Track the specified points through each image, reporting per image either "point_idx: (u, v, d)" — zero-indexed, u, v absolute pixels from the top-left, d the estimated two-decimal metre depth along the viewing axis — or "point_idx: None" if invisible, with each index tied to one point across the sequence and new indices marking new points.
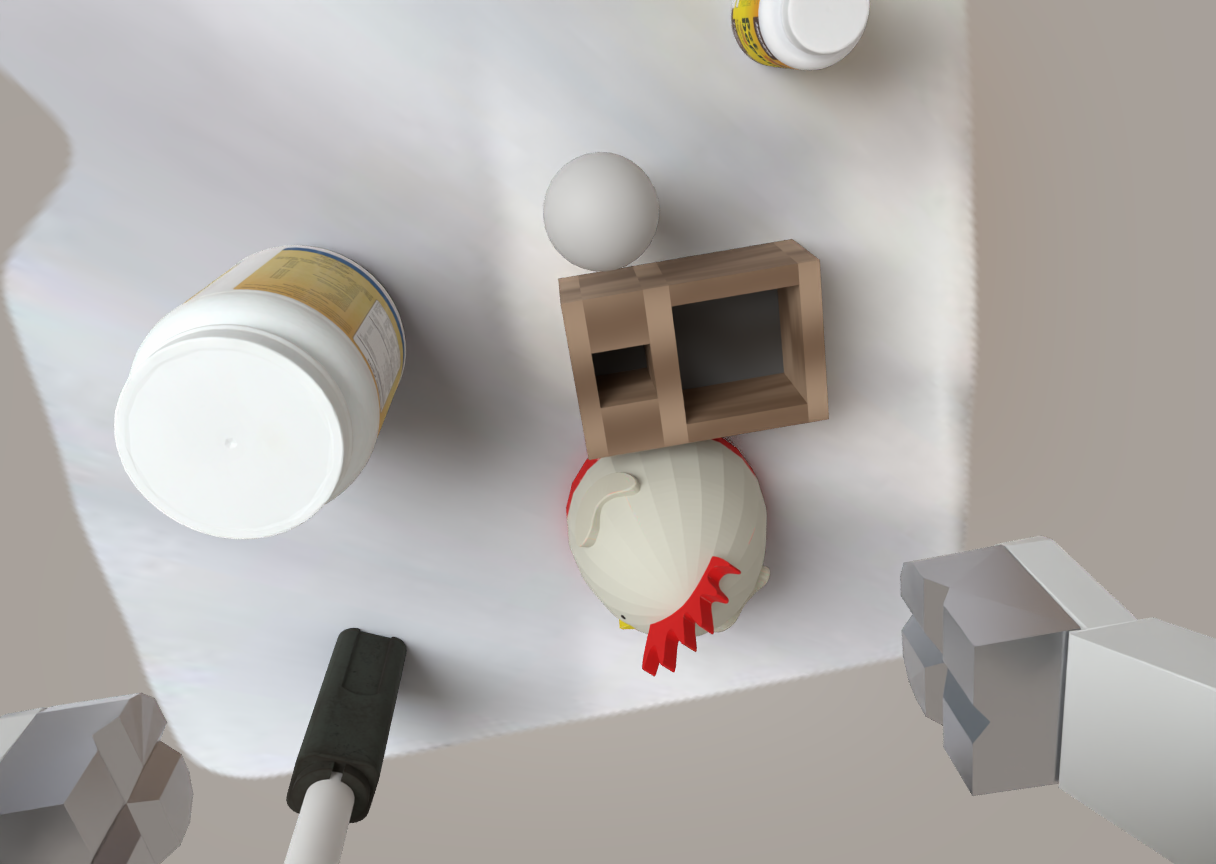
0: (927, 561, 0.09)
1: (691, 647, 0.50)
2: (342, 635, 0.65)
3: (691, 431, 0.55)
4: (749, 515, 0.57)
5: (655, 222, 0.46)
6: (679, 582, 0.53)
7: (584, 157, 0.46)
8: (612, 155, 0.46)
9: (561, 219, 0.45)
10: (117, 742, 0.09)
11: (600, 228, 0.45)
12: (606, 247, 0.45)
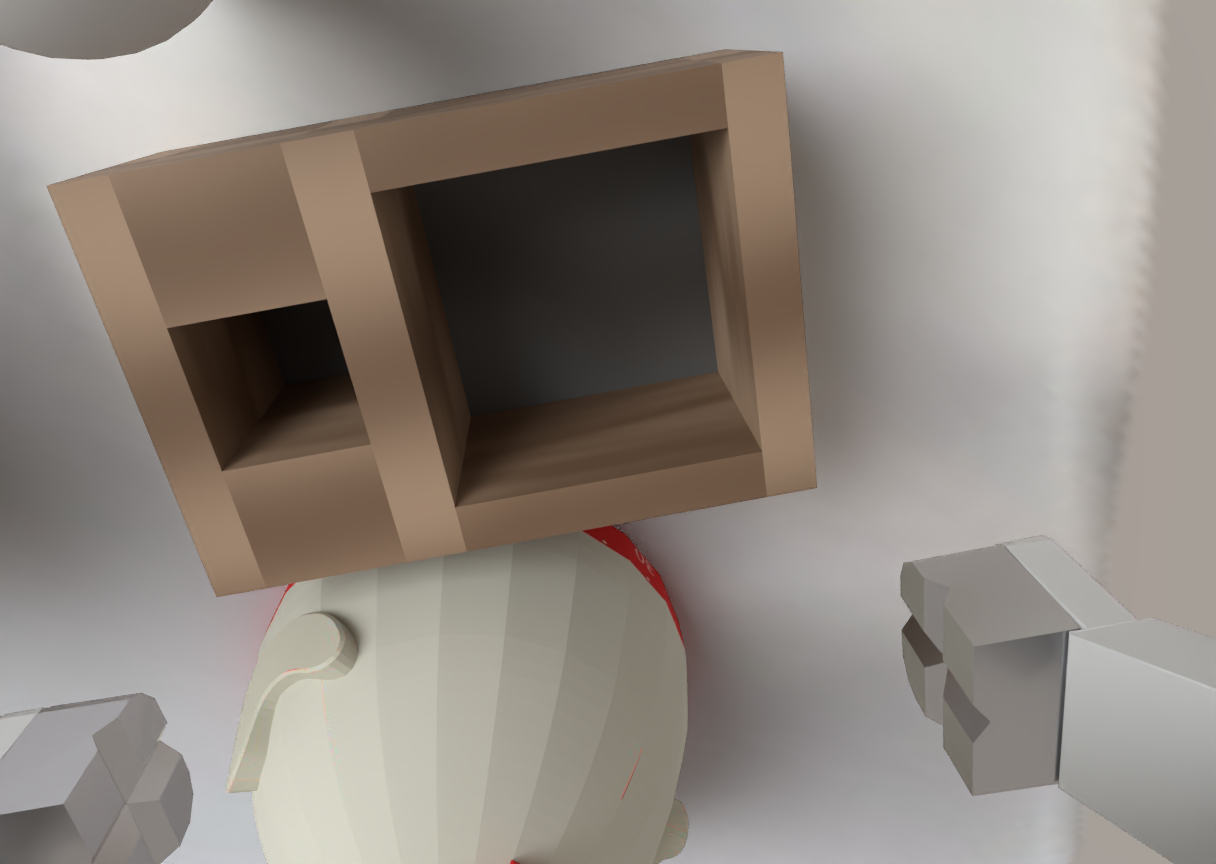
0: (928, 561, 0.09)
1: None
2: None
3: (469, 524, 0.22)
4: (629, 716, 0.24)
5: None
6: None
7: None
8: None
9: None
10: (117, 742, 0.09)
11: None
12: None
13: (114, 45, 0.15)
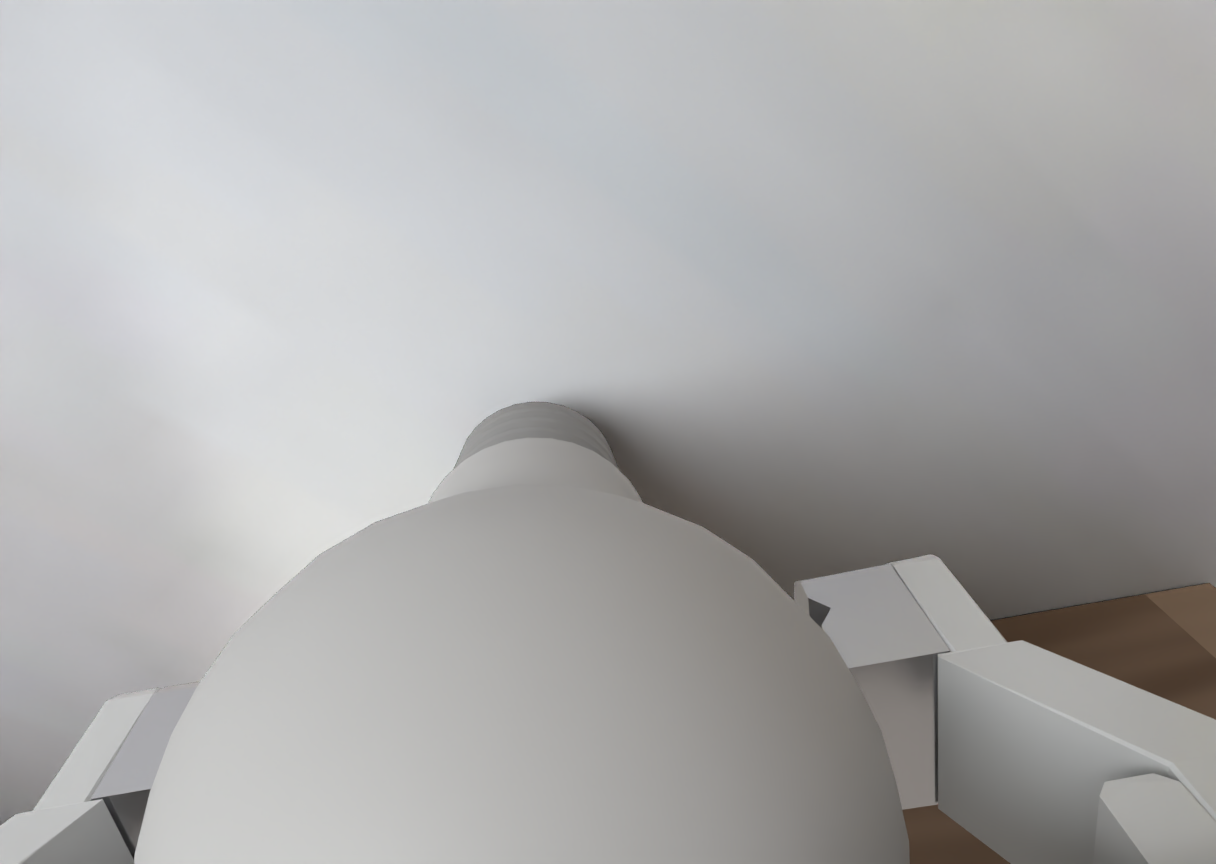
0: (815, 580, 0.09)
1: None
2: None
3: None
4: None
5: None
6: None
7: (388, 594, 0.06)
8: (601, 574, 0.06)
9: None
10: None
11: None
12: None
13: None
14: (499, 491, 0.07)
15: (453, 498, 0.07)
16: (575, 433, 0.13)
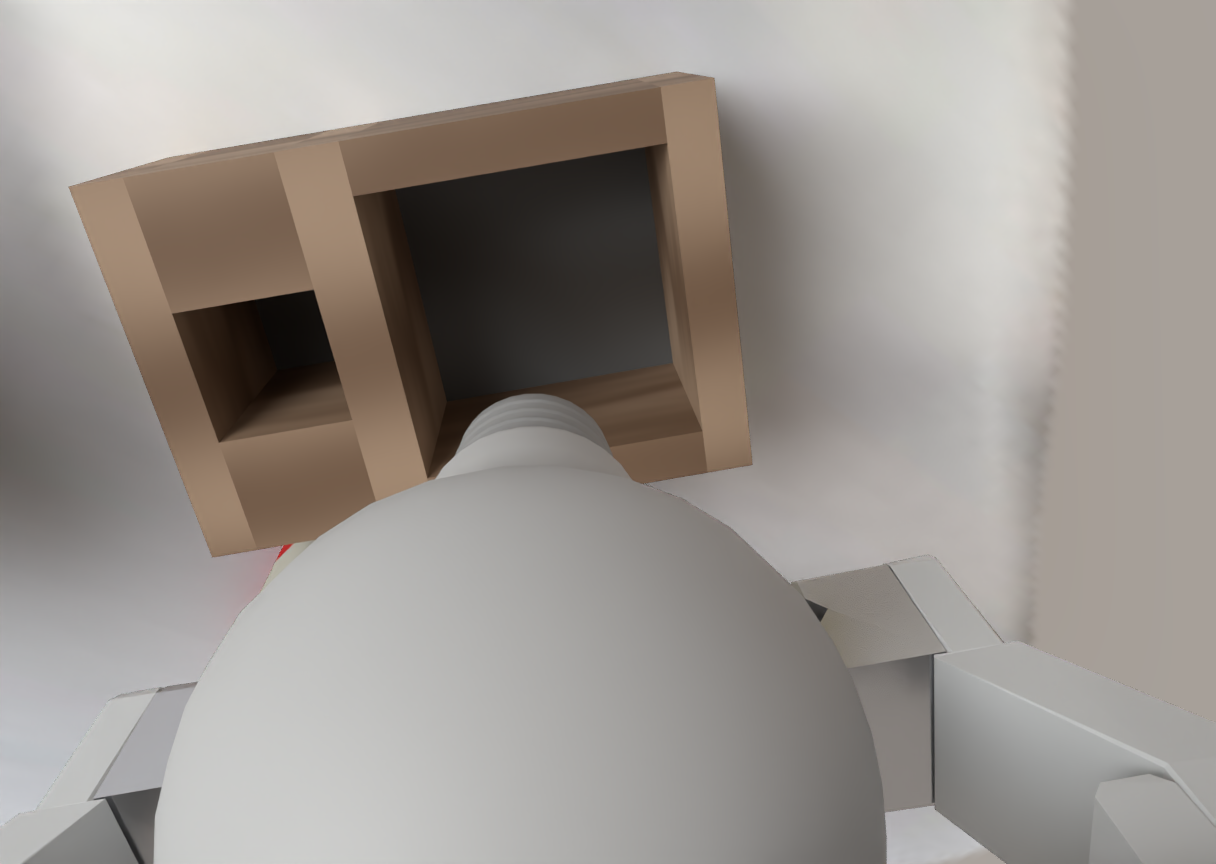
0: (811, 581, 0.09)
1: None
2: None
3: None
4: None
5: None
6: None
7: (380, 564, 0.06)
8: (578, 540, 0.06)
9: None
10: None
11: None
12: None
13: None
14: (485, 470, 0.08)
15: (442, 478, 0.08)
16: (568, 422, 0.13)
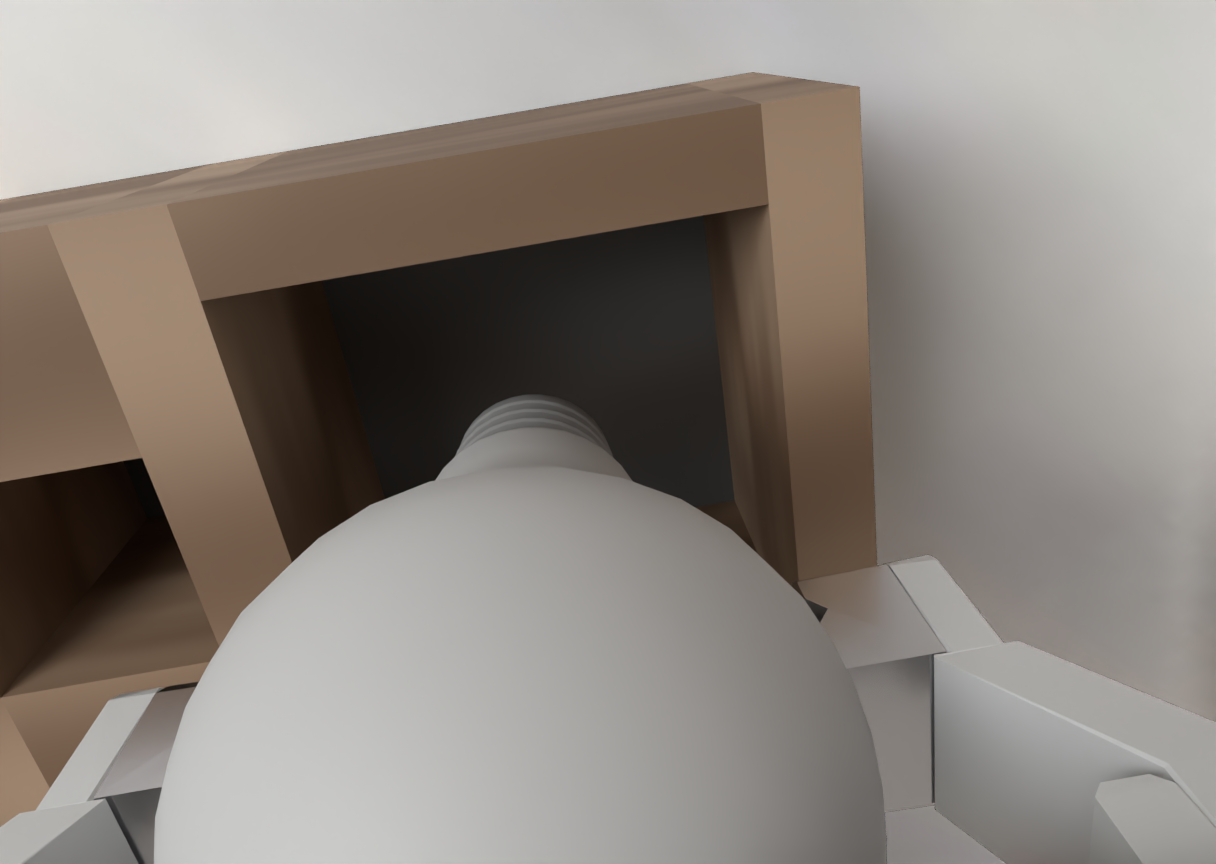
0: (811, 581, 0.09)
1: None
2: None
3: None
4: None
5: None
6: None
7: (380, 566, 0.06)
8: (578, 541, 0.06)
9: None
10: None
11: None
12: None
13: None
14: (485, 471, 0.08)
15: (442, 479, 0.08)
16: (568, 422, 0.13)
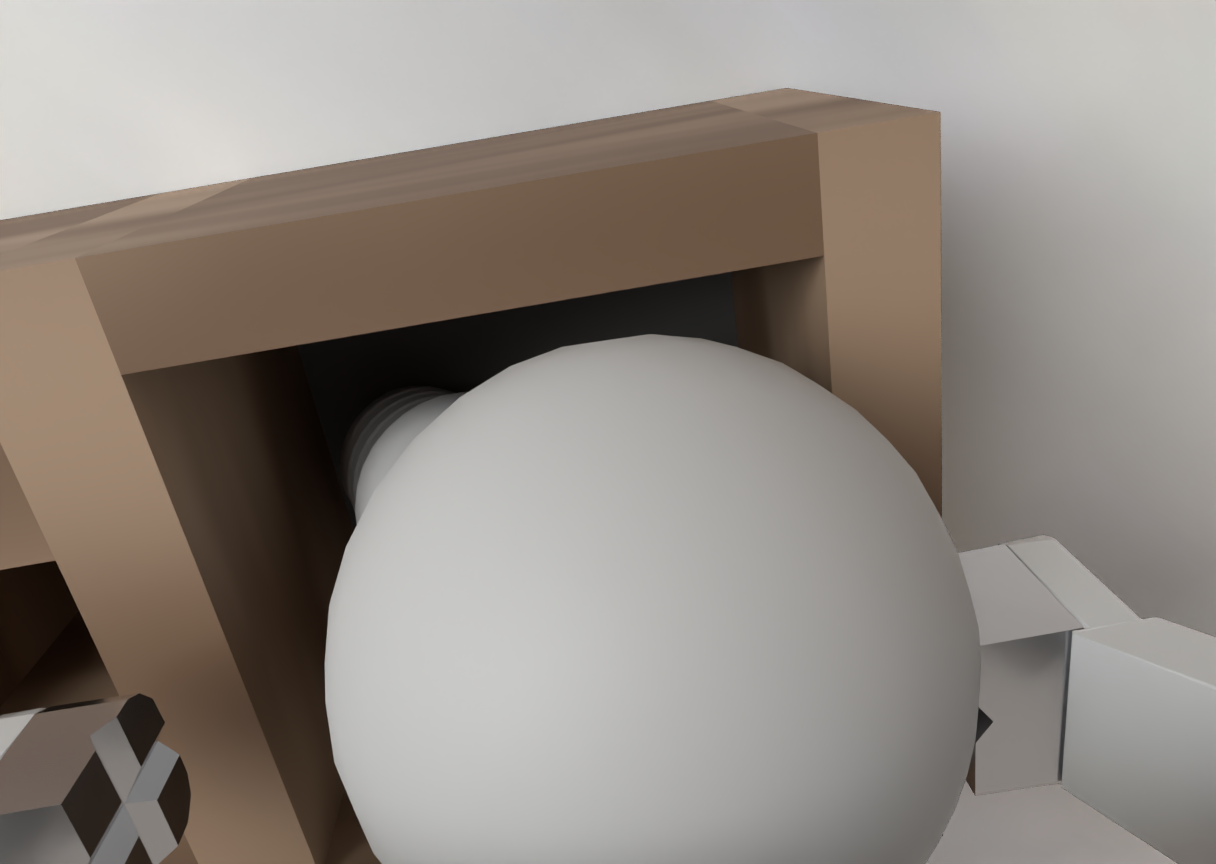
0: None
1: None
2: None
3: None
4: None
5: None
6: None
7: (561, 395, 0.07)
8: (706, 351, 0.08)
9: None
10: (115, 742, 0.09)
11: None
12: None
13: None
14: (557, 349, 0.09)
15: (522, 362, 0.08)
16: None
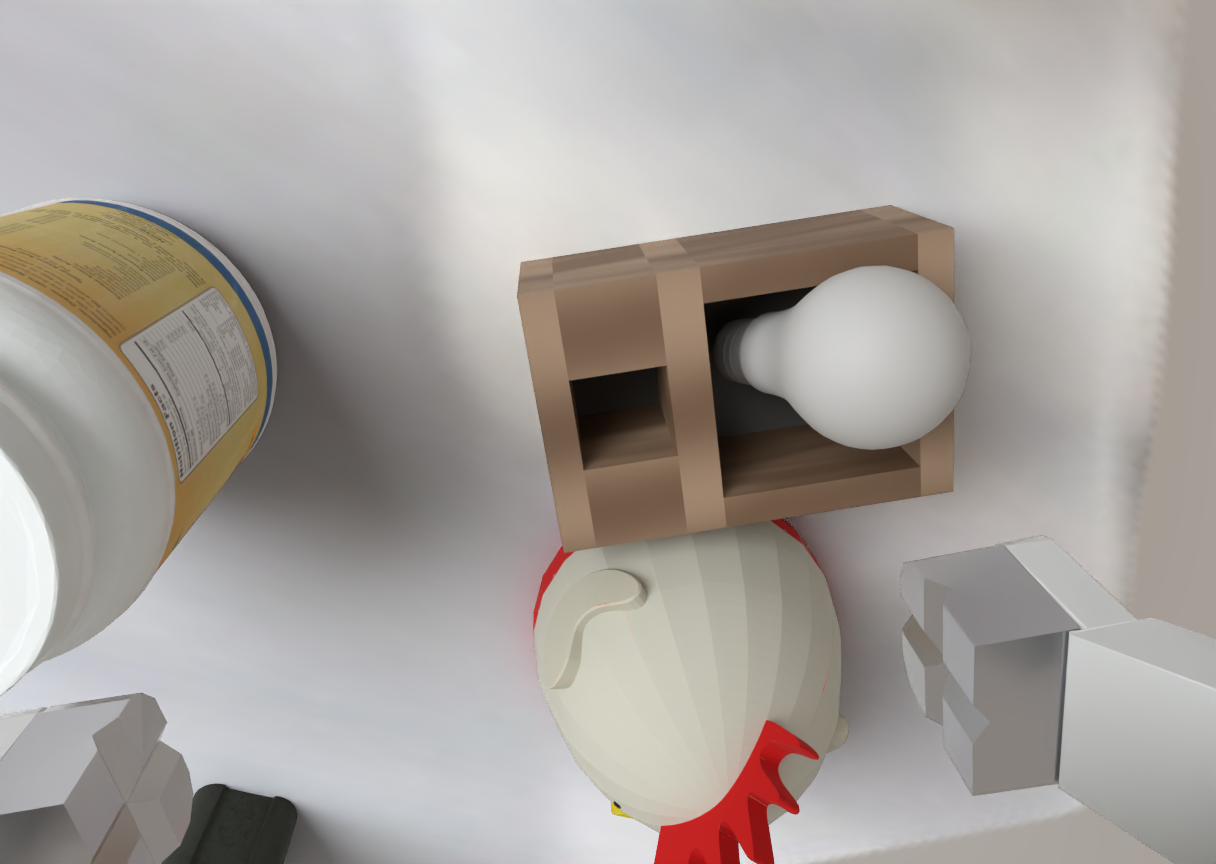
0: (927, 561, 0.09)
1: None
2: (197, 797, 0.43)
3: (731, 509, 0.34)
4: (821, 641, 0.35)
5: None
6: (711, 765, 0.31)
7: (861, 273, 0.29)
8: None
9: (875, 368, 0.27)
10: (117, 742, 0.09)
11: (943, 372, 0.27)
12: (943, 401, 0.28)
13: None
14: None
15: None
16: None
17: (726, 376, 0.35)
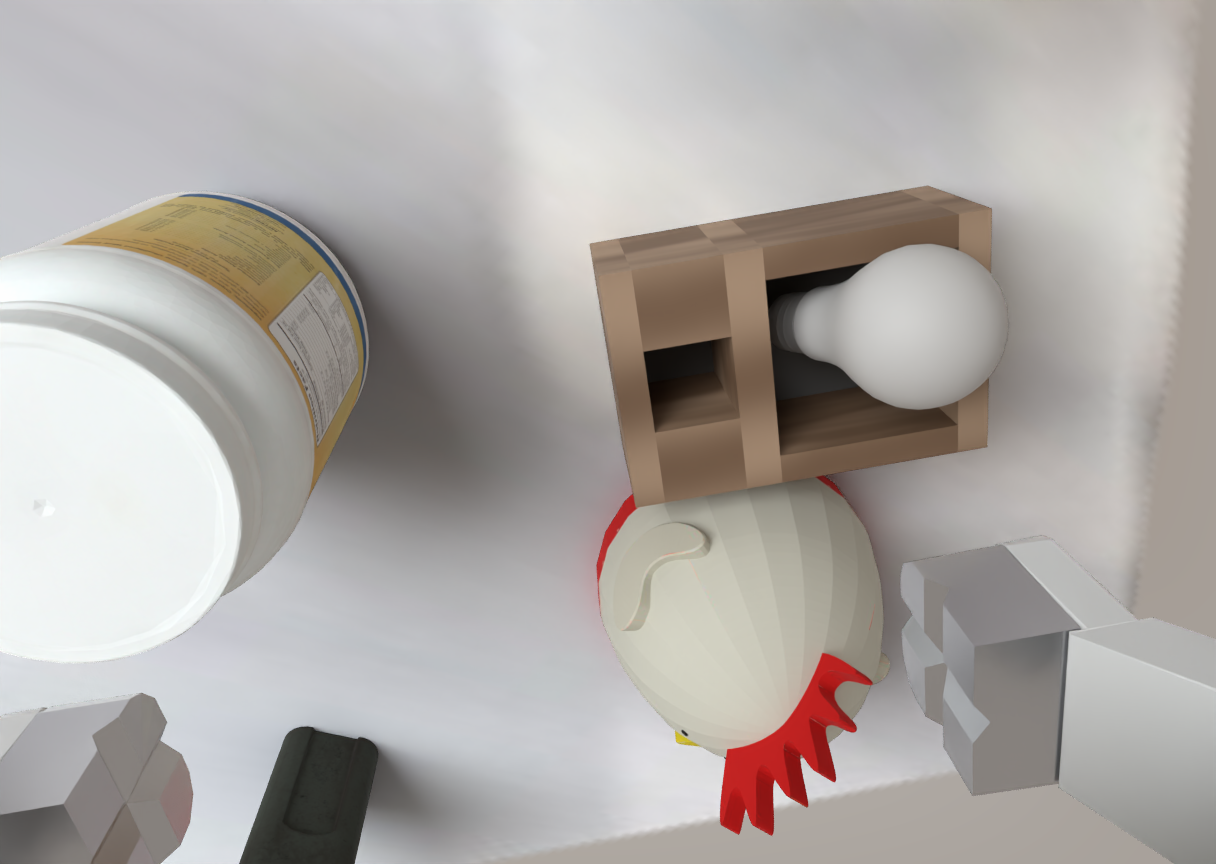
0: (928, 561, 0.09)
1: (800, 801, 0.33)
2: (289, 738, 0.48)
3: (787, 466, 0.37)
4: (866, 584, 0.39)
5: None
6: (774, 693, 0.35)
7: (910, 251, 0.32)
8: None
9: (925, 337, 0.30)
10: (117, 742, 0.09)
11: (985, 339, 0.31)
12: (985, 365, 0.31)
13: None
14: (893, 250, 0.33)
15: None
16: None
17: (779, 345, 0.39)
